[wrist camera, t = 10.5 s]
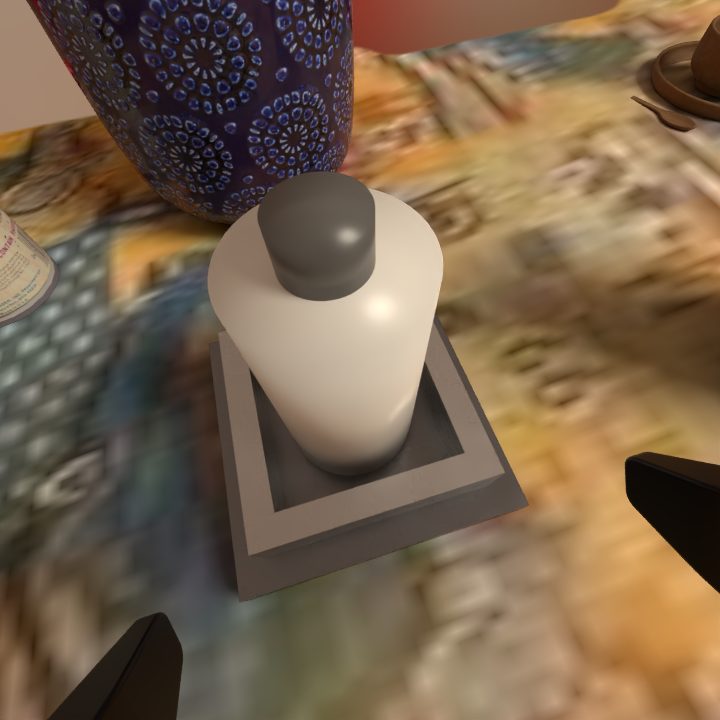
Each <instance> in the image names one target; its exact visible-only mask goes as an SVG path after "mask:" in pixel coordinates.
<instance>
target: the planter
mask: <svg viewBox="0 0 720 720" xmlns="http://www.w3.org/2000/svg"><path fill="white" fill-rule="evenodd" d="M26 1H27V2H28V4H29V6H30V7H31V9H32V11H33V12H34V14H35V16H36V17H37V19H38V20H39V22H40V24H41V26H42V27H43V29H44V31H45V32H46V34H47V35H48V37H49V39H50V40H51V42H52V44H53V45H54V47H55V49H56V50H57V52H58V54H59V55H60V57H61V59H62V60H63V62H64V64H65V65H66V67H67V68H68V70H69V71H70V73H71V74H72V76H73V78H74V79H75V81H76V82H77V84H78V86H79V87H80V89H81V90H82V92H83V93H84V95H85V96H86V98H87V100H88V101H89V103H90V104H91V106H92V107H93V108H94V111H95V112H96V114H97V115H98V117H99V118H100V120H101V121H102V123H103V125H104V126H105V128H106V129H107V131H108V132H109V133H110V135H111V136H112V138H113V139H114V141H115V142H116V143H117V145H118V146H119V148H120V149H121V151H122V152H123V153H124V155H125V156H126V157H127V159H128V160H129V161H130V163H131V164H132V165H133V167H134V168H135V169H136V171H137V172H138V173H139V175H140V176H141V177H142V178H143V179H144V180H145V182H146V183H147V184H148V185H149V186H150V187H151V188H152V189H153V190H154V191H155V192H156V193H157V194H158V195H160V196H161V197H162V198H164V199H165V200H167V201H168V202H170V203H171V204H173V205H174V206H176V207H178V208H179V209H181V210H183V211H186V212H188V213H190V214H192V215H194V216H197V217H199V218H202V219H206V220H209V221H214V222H218V223H223V224H232V225H233V224H234V223H235V222H236V221H237V220H238V219H239V218H240V217H241V216H243V215H244V214H245V213H247V212H248V211H249V210H251V209H252V208H254V207H256V206H257V205H259V204H260V203H261V201H262V199H263V198H264V196H265V195H266V194H267V193H268V192H269V191H270V190H271V189H272V188H273V187H275V186H276V185H277V184H279V183H281V182H282V181H284V180H286V179H288V178H291V177H293V176H296V175H300V174H303V173H309V172H320V171H326V172H335V173H338V171H339V169H340V167H341V165H342V163H343V161H344V159H345V157H346V154H347V152H348V148H349V144H350V138H351V133H352V123H353V103H354V54H353V14H352V0H26Z"/></svg>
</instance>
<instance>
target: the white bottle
mask: <svg viewBox="0 0 720 720" xmlns="http://www.w3.org/2000/svg"><path fill="white" fill-rule="evenodd" d="M442 276H443V257H442V252H441V248H440V244H439V242H438V240H437V238H436V235H435V233H434V232H433V230H432V229H431V227H430V226H429V224H428V223H427V222H426V221H425V220H424V219H423V217H422V216H421V215H420V214H418V213H417V212H416V211H415V210H414V209H413V208H411V207H410V206H408V205H407V204H405V203H404V202H402V201H401V200H399V199H397V198H395V197H393V196H391V195H388V194H385V193H383V192H380V191H377V190H373V189H369V188H367V187H366V186H365V185H363V184H362V183H361V182H359V181H358V180H356V179H354V178H352V177H350V176H347V175H344V174H340V173H335V172H326V171H320V172H309V173H303V174H300V175H296V176H293V177H291V178H288V179H286V180H284V181H282V182H281V183H279V184H277V185H276V186H275V187H273V188H272V189H271V190H270V191H269V192H268V193H267V194H266V195H265V196H264V198H263V199H262V201H261V203H260V204H259V205H257V206H256V207H254V208H252V209H251V210H249V211H248V212H247V213H245V214H244V215H243V216H241V217H240V218H239V219H238V220H237V221H236V222H235V223H234V224H233V225H232V226H231V227H230V228H229V229H228V231H227V232H226V233H225V234H224V235H223V237H222V239H221V240H220V242H219V243H218V245H217V247H216V249H215V251H214V253H213V255H212V259H211V262H210V265H209V271H208V292H209V296H210V301H211V304H212V306H213V308H214V311H215V313H216V315H217V316H218V318H219V319H220V321H221V323H222V324H223V326H224V327H225V329H226V331H227V332H228V334H229V335H230V337H231V339H232V340H233V342H234V343H235V345H236V347H237V348H238V350H239V352H240V353H241V355H242V356H243V358H244V360H245V361H246V363H247V364H248V366H249V368H250V369H251V371H252V372H253V374H254V376H255V377H256V379H257V380H258V382H259V384H260V385H261V387H262V388H263V390H264V392H265V393H266V395H267V396H268V398H269V400H270V401H271V403H272V404H273V406H274V408H275V409H276V411H277V412H278V414H279V416H280V417H281V419H282V420H283V422H284V424H285V425H286V427H287V428H288V430H289V432H290V433H291V435H292V436H293V438H294V440H295V441H296V443H297V444H298V446H299V448H300V449H301V451H302V452H303V454H304V455H305V456H306V457H307V458H308V459H309V460H310V461H311V462H312V463H314V464H315V465H317V466H318V467H320V468H321V469H324V470H326V471H328V472H331V473H334V474H340V475H361V474H365V473H369V472H371V471H374V470H377V469H378V468H380V467H382V466H384V465H385V464H386V463H388V462H389V461H390V460H391V459H392V458H394V457H395V456H396V454H397V453H398V452H399V451H400V449H401V448H402V446H403V444H404V443H405V441H406V438H407V436H408V432H409V428H410V424H411V419H412V415H413V410H414V406H415V401H416V397H417V392H418V387H419V383H420V378H421V374H422V369H423V365H424V360H425V355H426V351H427V346H428V342H429V337H430V333H431V328H432V323H433V319H434V314H435V310H436V305H437V301H438V296H439V291H440V287H441V282H442Z"/></svg>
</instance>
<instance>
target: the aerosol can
mask: <svg viewBox="0 0 720 720" xmlns="http://www.w3.org/2000/svg"><path fill="white" fill-rule="evenodd" d="M58 277H59V271H58V265H57V264H56V263H55V261H54V260H53V259H52V258H51V257H50V256H49V255H48V254H47V253H46V252H45V251H44V250H43V249H42V248H41V247H40V246H39V245H38V244H37V243H36V242H35V241H34V240H33V239H32V238H31V237H30V236H29V235H28V234H27V233H25V232H24V231H23V230H22V229H21V228H20V227H19V226H18V225H17V224H16V223H15V222H14V221H13V220H12V219H11V218H10V217H9V216H8V215H7V214H6V213H5V212H4V211H3V210H2V209H1V208H0V327H2V326H5V325H8V324H10V323H13V322H16V321H18V320H20V319H22V318H23V317H25V316H27V315H28V314H30V313H32V312H33V311H35V310H36V309H37V308H38V307H39V306H40V305H41V304H42V303H44V302H45V301H46V300H47V299H48V297H49V296H50V294H51V293H52V291H53V290H54V288H55V287H56V284H57V280H58Z"/></svg>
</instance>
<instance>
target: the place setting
mask: <svg viewBox="0 0 720 720" xmlns="http://www.w3.org/2000/svg"><path fill="white" fill-rule="evenodd" d="M688 60H691V71H692V73H693V75H694V77H695V78H696V81H695V84H696V86H697V88H698V89H699V90H701V91H702V92H704V93H706V94H709V95H712V96H715V97H720V15H719V16H717V17H716V18H714V19H713V21H712V22H711V24H710V25H709V27H708V29H707V30H706V32H705V34H704V35H703V37H702V39H701V40H700V41H692V42H685V43H680V44H677V45H673V46H671V47H669V48H667V49H665V50H664V51H662V52H661V53H660V54H659V55H658V57H657V59H656V61H655V63H654V65H653V68H652V74H651V78H652V83H653V86H654V88H655V89H656V91H657V92H658V93H659V94H660V95H661V96H662V97H663V98H664V99H665V100H667V101H668V102H670V103H671V104H673V105H675V106H676V107H678V108H680V109H682V110H685V111H687V112H690V113H692V114H695V115H698V116H702V117H705V118H709V119H714V120H719V121H720V104H716V103H713V102H709V101H706V100H703V99H700V98H697V97H695V96H692V95H690V94H688V93H686V92H684V91H682V90H680V89H679V88H677V87H675V86H674V85H673V84H671V83H670V82H669V81H668V80H667V79H666V78H665V77H664V75H663V74H662V72H661V71H662V70H663V69H664V68H666V67H667V66H669V65H671V64H674V63H677V62H681V61H688ZM630 98H631V99H633V100H635V101H636V102H638V103H640V104H642V105H643V106H646V107H648V108H650V109H652V110H653V111H655V112H656V113H657V114H658V115H659V118H660V119H661V120H662V121H663V122H664V123H665V124H667V125H669V126H670V127H673V128H676V129H679V130H692V129H694V128H696V124H695V122H694V121H693V120H692V119H690V118H689V117H687V116H684V115H682V114H678V113H674V112H670V111H666V110H663V109H661V108H658V107H656V106H654V105H652V104H650V103H648V102H646V101H644V100H642V99H640V98H638V97H635V96H633V97H630Z"/></svg>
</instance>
